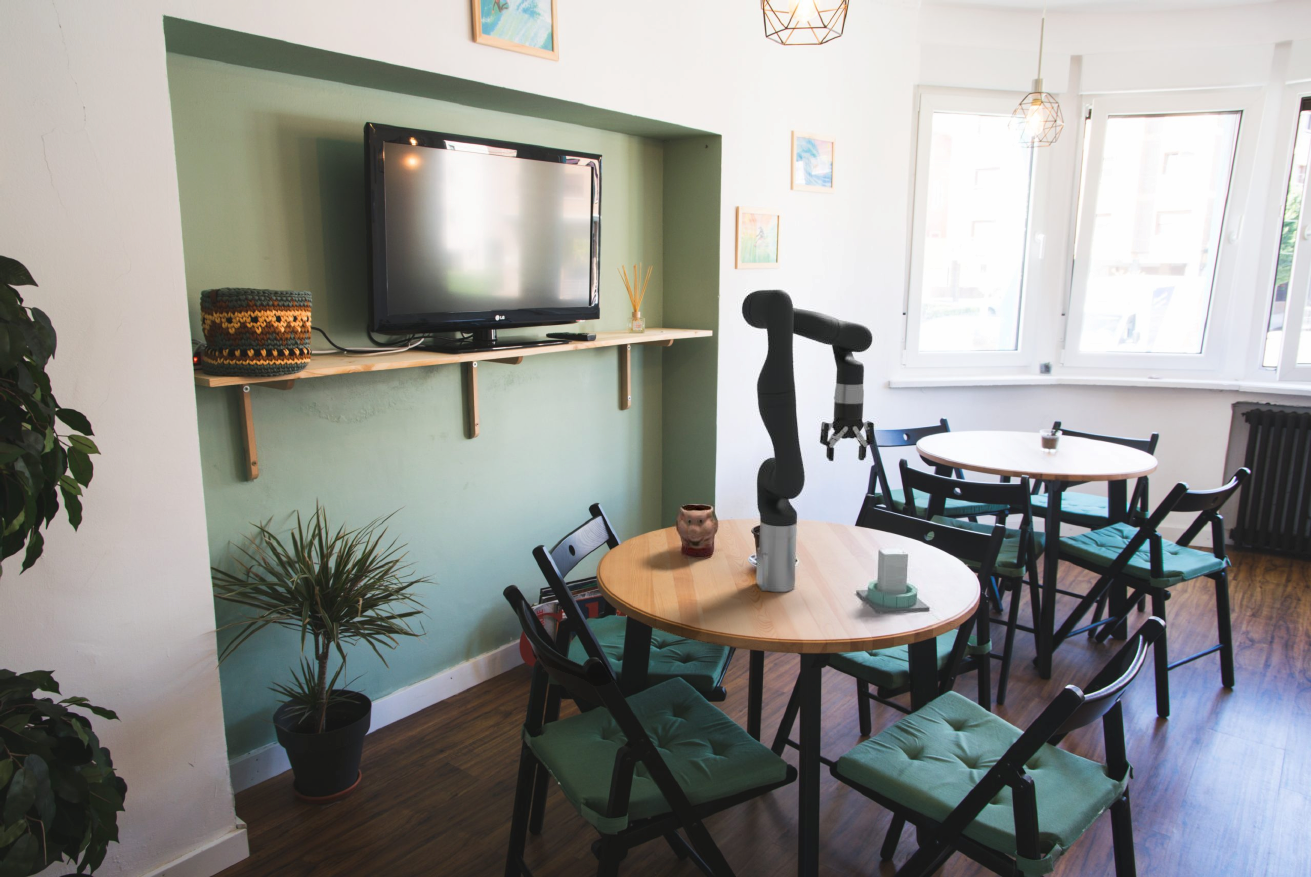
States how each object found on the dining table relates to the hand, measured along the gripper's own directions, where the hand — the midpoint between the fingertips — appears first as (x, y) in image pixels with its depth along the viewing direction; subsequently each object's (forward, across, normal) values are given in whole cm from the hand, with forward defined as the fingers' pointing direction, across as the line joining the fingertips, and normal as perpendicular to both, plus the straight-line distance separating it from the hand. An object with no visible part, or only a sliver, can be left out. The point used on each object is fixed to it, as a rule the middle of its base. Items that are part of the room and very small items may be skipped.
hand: (846, 460), depth 216 cm
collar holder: (+30, +3, -26) cm, 40 cm away
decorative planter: (+30, -37, +18) cm, 51 cm away
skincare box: (+30, +3, -26) cm, 39 cm away
